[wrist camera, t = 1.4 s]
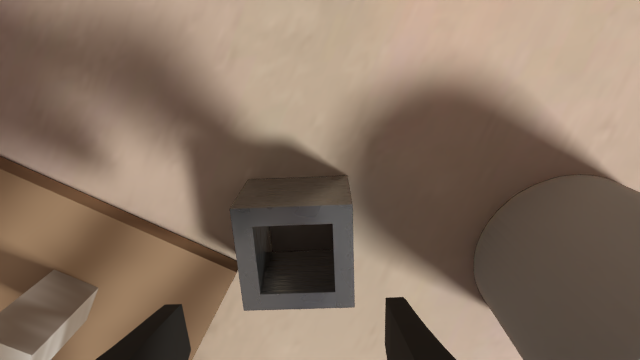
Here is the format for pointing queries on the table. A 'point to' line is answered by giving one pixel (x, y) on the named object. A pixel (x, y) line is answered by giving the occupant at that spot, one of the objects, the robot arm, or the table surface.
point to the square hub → (294, 266)
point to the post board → (91, 272)
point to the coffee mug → (565, 269)
